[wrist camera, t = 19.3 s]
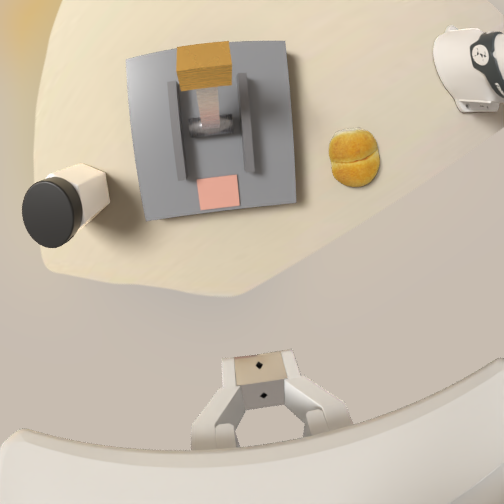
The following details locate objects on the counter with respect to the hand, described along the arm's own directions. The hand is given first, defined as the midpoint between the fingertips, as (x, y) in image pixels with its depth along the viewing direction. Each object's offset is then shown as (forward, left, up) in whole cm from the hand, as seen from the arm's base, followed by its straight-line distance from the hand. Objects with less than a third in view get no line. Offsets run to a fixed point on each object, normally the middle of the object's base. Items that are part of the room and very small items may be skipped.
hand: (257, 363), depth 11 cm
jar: (+21, -4, -31) cm, 38 cm away
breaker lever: (+1, -9, -27) cm, 28 cm away
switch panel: (+1, -10, -31) cm, 33 cm away
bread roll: (-19, -5, -31) cm, 37 cm away
